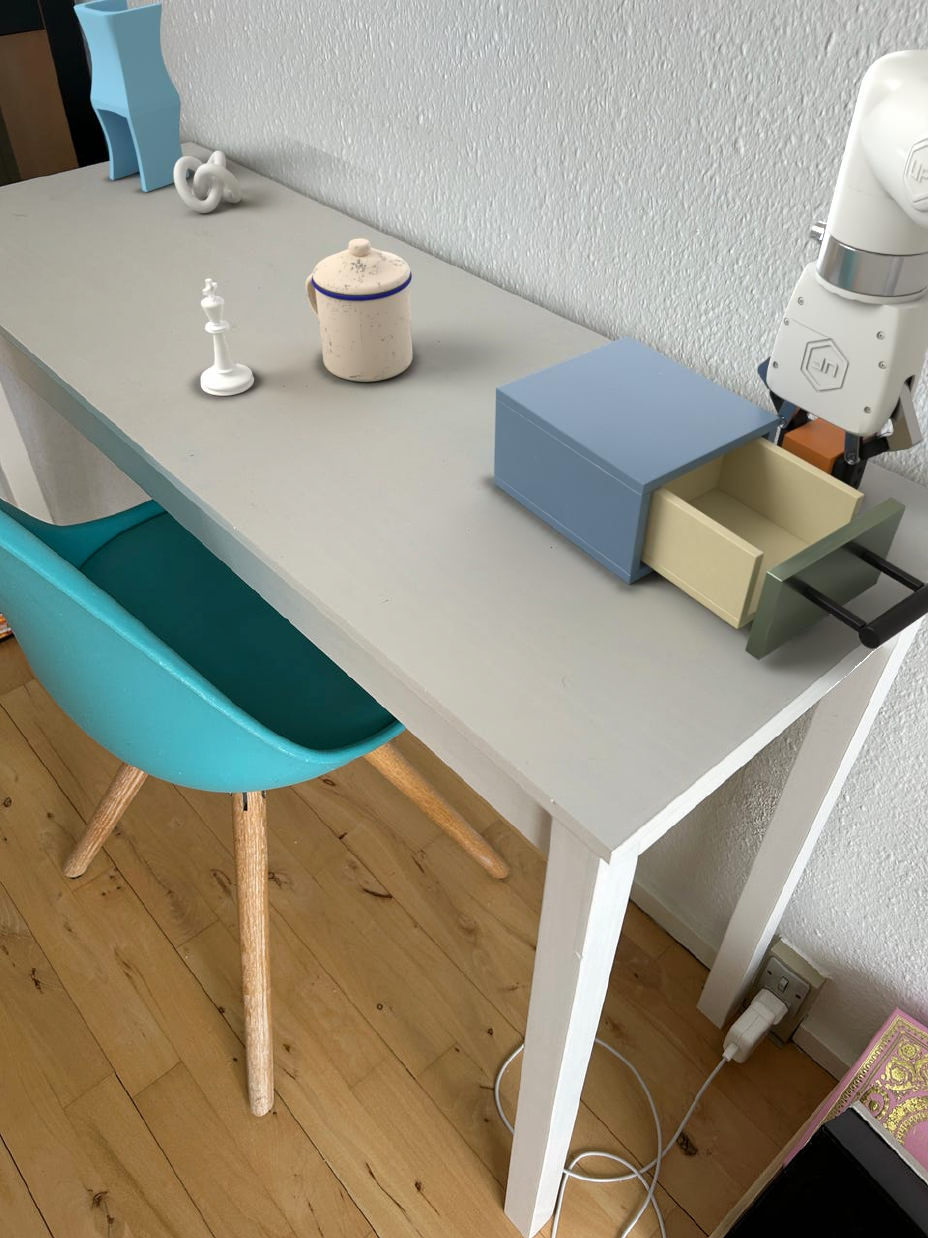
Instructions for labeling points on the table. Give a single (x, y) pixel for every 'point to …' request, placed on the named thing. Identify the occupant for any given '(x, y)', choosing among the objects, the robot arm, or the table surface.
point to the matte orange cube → (816, 444)
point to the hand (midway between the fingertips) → (813, 479)
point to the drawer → (776, 546)
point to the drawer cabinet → (613, 442)
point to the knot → (206, 182)
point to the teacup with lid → (363, 312)
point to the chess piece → (221, 351)
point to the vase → (133, 90)
